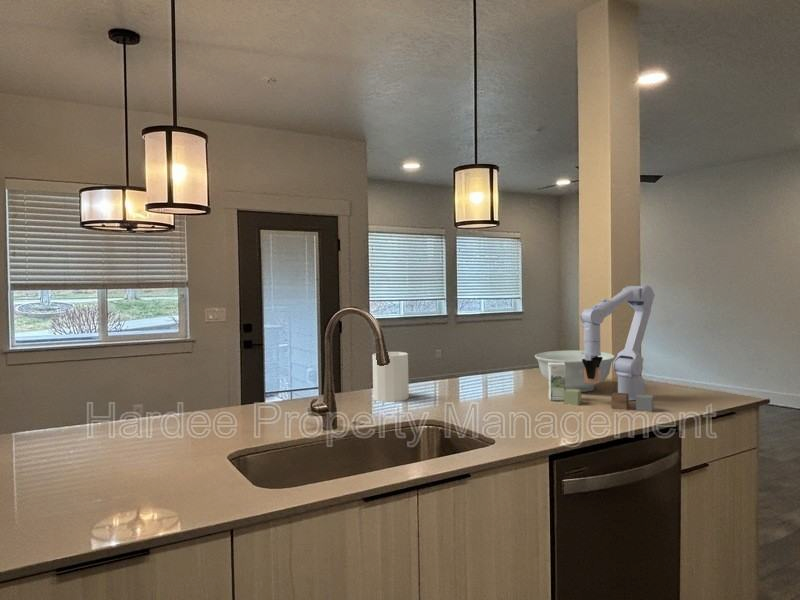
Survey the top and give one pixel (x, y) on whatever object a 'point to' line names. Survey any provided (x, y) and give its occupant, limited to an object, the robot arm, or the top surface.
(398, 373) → the container
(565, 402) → the olive block
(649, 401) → the slate block
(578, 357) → the bowl
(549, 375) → the syrup box
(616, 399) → the walnut block
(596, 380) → the terracotta block
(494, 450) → the top surface
